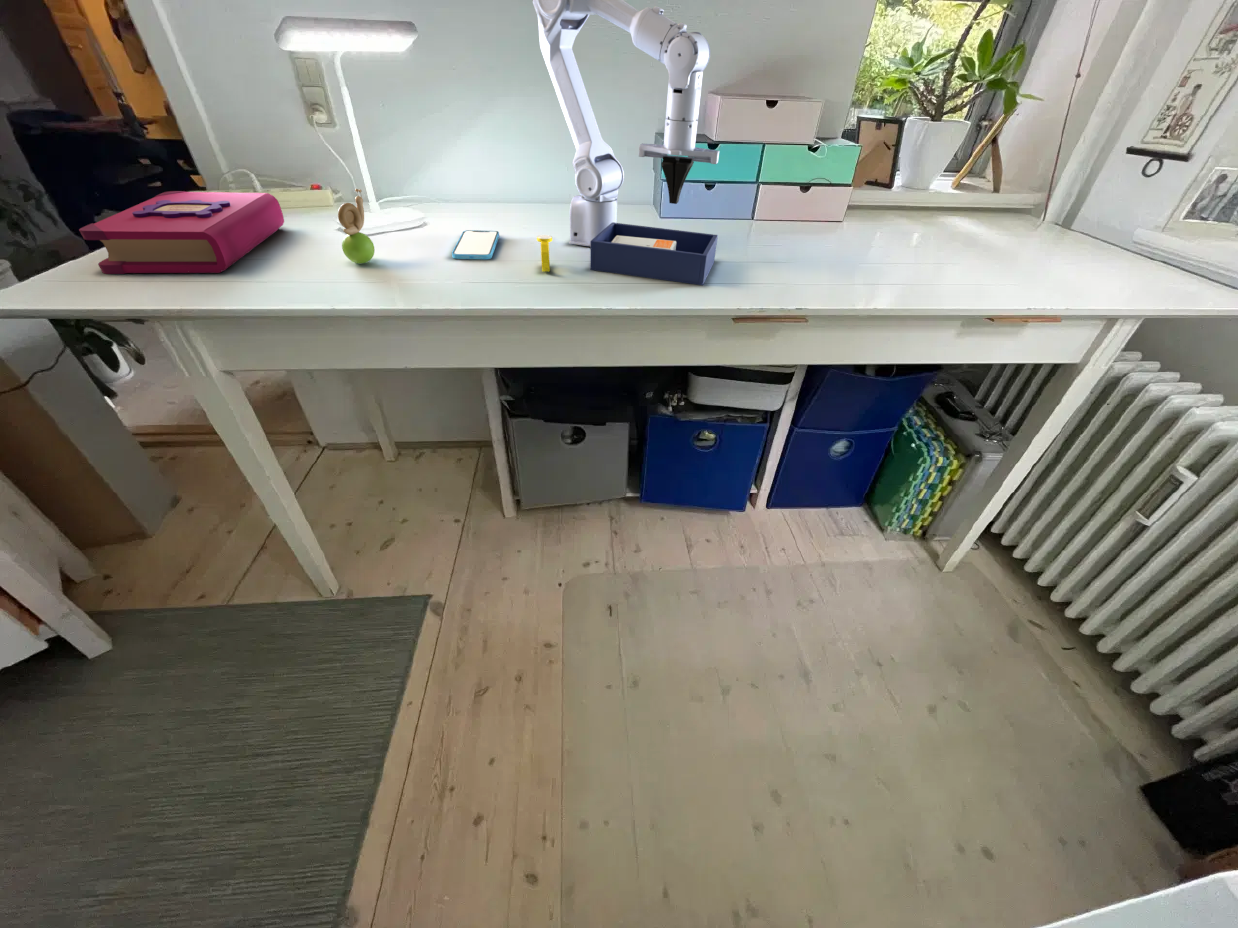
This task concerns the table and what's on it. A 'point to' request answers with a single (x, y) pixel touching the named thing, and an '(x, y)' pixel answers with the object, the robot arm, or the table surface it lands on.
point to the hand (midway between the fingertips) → (673, 202)
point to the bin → (654, 254)
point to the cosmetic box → (646, 242)
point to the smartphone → (476, 245)
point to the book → (185, 232)
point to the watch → (545, 251)
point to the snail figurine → (355, 232)
